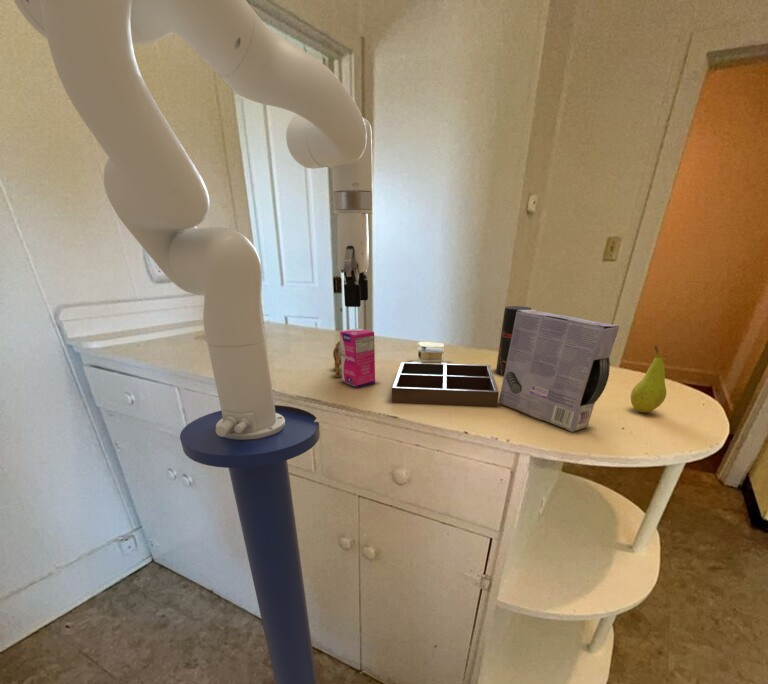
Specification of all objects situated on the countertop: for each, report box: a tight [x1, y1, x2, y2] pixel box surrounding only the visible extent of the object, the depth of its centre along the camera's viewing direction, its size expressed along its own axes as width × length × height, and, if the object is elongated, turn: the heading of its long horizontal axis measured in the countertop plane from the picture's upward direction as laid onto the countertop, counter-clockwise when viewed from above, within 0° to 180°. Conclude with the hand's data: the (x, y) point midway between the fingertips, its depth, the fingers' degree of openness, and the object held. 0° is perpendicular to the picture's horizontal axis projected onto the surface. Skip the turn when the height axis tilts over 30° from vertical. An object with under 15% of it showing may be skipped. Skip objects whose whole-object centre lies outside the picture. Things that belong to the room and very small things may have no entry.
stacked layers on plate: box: [410, 341, 449, 364], centre depth 112 cm, size 10×9×6 cm
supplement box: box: [339, 327, 376, 389], centre depth 97 cm, size 6×6×12 cm
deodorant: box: [495, 305, 532, 376], centre depth 104 cm, size 6×6×15 cm
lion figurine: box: [332, 340, 341, 378], centre depth 105 cm, size 15×5×9 cm, turn 16°
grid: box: [391, 361, 500, 408], centre depth 95 cm, size 21×21×3 cm
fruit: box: [630, 345, 667, 414], centre depth 80 cm, size 6×6×12 cm
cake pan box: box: [498, 309, 620, 433], centre depth 77 cm, size 19×5×18 cm, turn 33°
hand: (357, 303), depth 91 cm, fingers open, 9 cm apart
